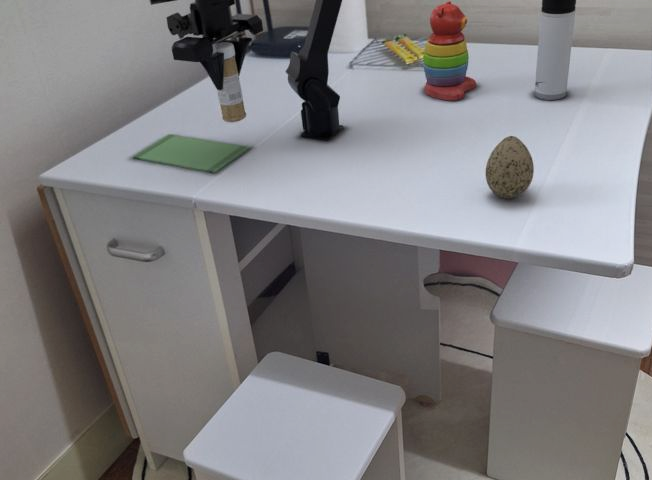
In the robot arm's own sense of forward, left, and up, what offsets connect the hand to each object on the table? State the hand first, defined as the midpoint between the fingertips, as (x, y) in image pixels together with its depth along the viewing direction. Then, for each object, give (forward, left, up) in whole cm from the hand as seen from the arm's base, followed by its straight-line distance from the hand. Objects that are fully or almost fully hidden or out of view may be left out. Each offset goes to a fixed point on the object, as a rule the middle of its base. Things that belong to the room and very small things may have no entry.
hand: (227, 85), depth 125 cm
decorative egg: (-52, +1, -13) cm, 54 cm away
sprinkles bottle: (0, 0, -7) cm, 7 cm away
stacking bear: (-26, -40, -13) cm, 50 cm away
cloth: (+9, +4, -13) cm, 16 cm away
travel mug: (-47, -43, -13) cm, 66 cm away
